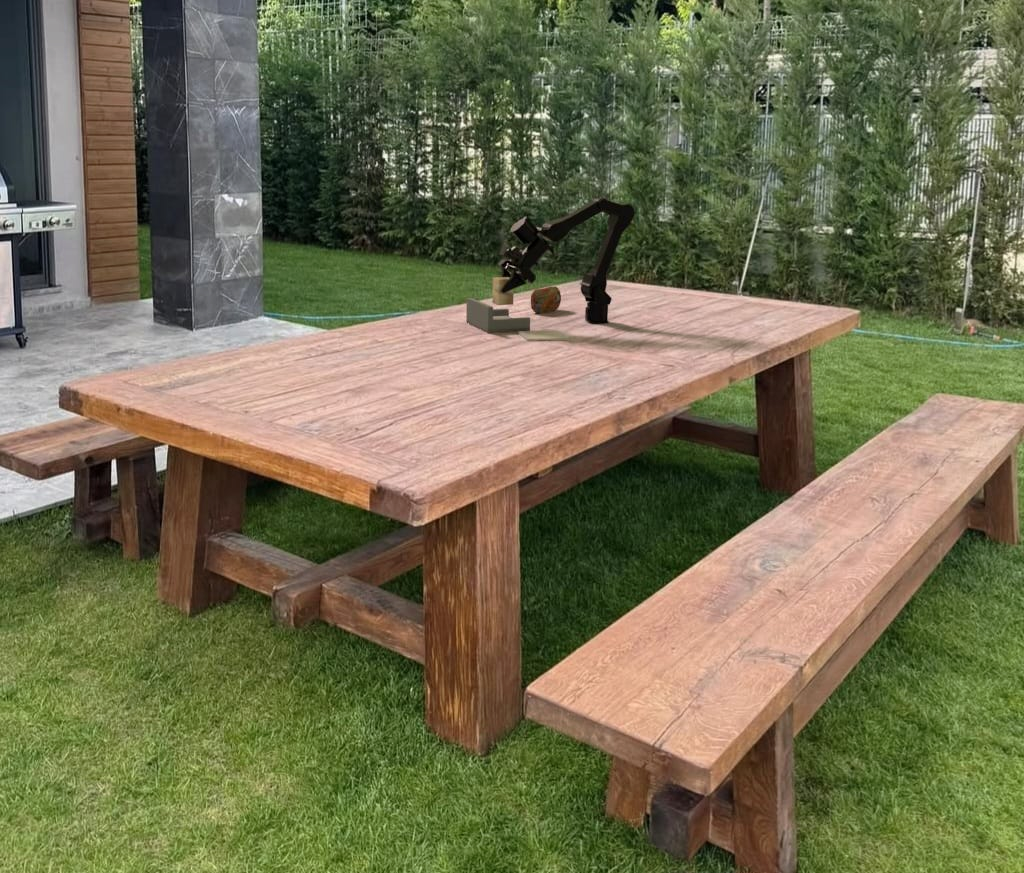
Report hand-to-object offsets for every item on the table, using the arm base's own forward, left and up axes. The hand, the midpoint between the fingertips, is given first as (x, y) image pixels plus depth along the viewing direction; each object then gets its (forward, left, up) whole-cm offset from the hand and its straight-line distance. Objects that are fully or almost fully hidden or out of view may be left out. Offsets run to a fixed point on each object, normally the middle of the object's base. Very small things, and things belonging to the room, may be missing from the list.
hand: (498, 290), depth 347 cm
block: (-1, 0, -4) cm, 4 cm away
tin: (-22, -28, -12) cm, 38 cm away
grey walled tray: (0, 0, -11) cm, 11 cm away
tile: (-10, +18, -11) cm, 24 cm away
